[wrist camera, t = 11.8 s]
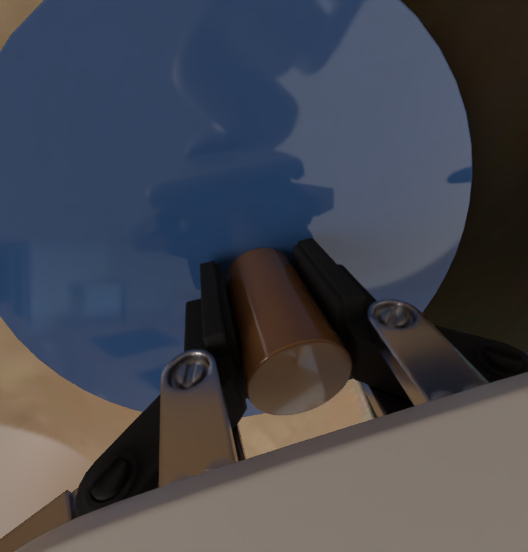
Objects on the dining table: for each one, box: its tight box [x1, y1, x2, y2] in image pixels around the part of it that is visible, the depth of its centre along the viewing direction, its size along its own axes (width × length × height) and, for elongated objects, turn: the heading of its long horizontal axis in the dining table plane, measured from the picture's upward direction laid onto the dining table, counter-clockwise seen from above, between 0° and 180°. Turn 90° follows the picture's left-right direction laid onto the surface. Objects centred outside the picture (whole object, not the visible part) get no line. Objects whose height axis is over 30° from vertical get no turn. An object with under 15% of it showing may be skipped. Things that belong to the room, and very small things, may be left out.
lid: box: [0, 0, 473, 417], centre depth 9 cm, size 19×19×6 cm
